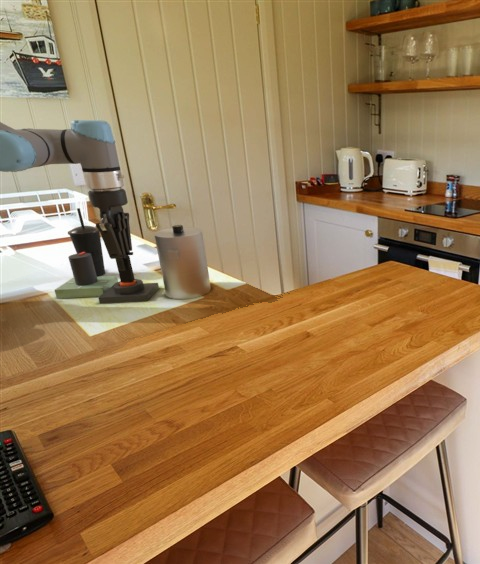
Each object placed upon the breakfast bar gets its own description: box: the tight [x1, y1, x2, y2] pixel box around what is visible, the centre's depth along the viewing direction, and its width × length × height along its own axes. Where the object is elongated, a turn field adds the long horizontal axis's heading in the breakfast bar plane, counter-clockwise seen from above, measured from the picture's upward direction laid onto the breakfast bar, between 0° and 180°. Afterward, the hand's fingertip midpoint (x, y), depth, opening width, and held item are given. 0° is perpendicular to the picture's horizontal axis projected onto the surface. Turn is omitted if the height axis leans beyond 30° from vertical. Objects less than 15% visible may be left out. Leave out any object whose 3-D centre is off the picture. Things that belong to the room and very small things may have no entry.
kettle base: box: [97, 278, 160, 304], centre depth 111 cm, size 11×9×4 cm
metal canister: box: [153, 224, 212, 300], centre depth 111 cm, size 14×11×19 cm
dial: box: [68, 252, 98, 285], centre depth 111 cm, size 5×5×8 cm
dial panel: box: [54, 275, 119, 300], centre depth 113 cm, size 11×9×3 cm
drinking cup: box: [67, 207, 106, 277], centre depth 123 cm, size 8×8×20 cm
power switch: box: [119, 280, 136, 286], centre depth 110 cm, size 4×4×2 cm
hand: (127, 280), depth 110 cm, fingers closed
